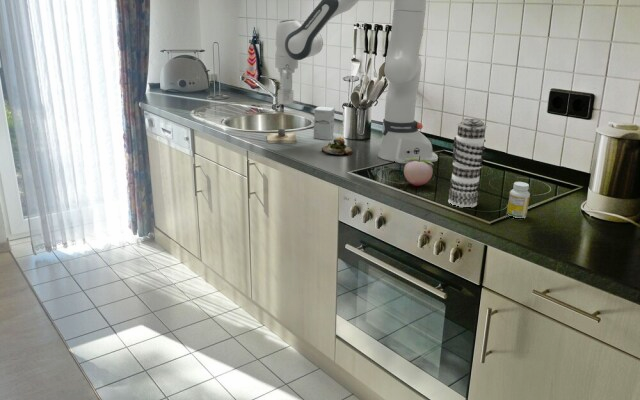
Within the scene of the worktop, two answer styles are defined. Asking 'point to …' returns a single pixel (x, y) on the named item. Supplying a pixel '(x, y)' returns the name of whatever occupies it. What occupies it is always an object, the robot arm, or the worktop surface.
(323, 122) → the supplement box
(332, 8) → the robot arm
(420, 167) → the decorative fruit
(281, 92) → the cap
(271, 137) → the stud board
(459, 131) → the decorative candle
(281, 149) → the worktop surface
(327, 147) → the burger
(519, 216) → the supplement bottle
